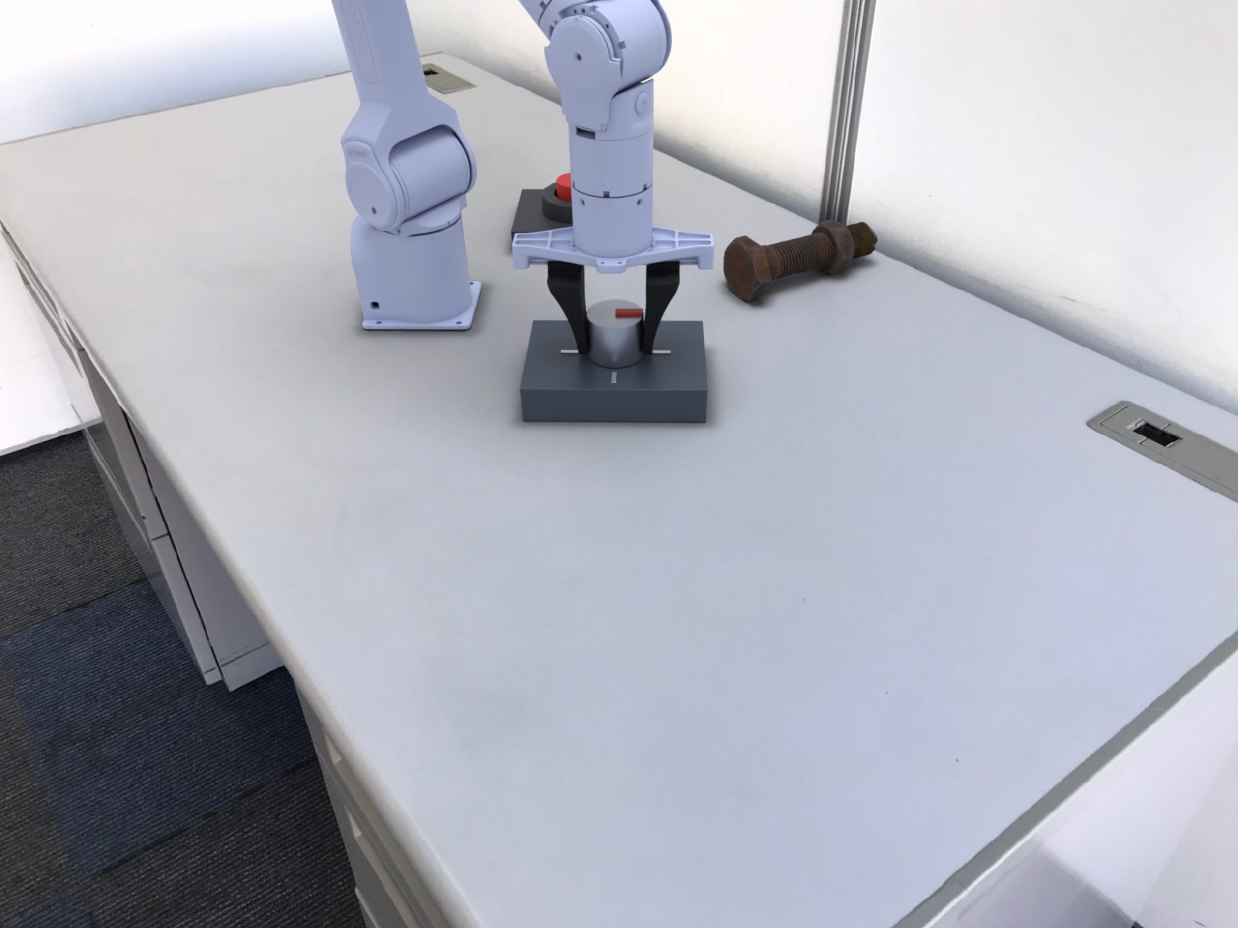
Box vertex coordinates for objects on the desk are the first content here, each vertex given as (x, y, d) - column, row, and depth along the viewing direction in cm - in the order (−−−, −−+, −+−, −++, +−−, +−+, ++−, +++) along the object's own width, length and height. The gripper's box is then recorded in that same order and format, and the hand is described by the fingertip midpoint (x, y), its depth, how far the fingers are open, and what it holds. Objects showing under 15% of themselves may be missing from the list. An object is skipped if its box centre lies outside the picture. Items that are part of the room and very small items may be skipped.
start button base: (512, 252, 98) (509, 214, 96) (523, 208, 106) (520, 172, 103) (634, 252, 98) (634, 214, 95) (636, 208, 105) (635, 172, 103)
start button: (555, 204, 98) (554, 187, 97) (558, 188, 101) (557, 172, 100) (592, 203, 98) (591, 187, 97) (593, 188, 101) (593, 172, 100)
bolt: (867, 276, 97) (739, 311, 91) (842, 235, 98) (715, 267, 92) (896, 240, 92) (763, 275, 86) (870, 197, 93) (737, 228, 87)
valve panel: (522, 421, 76) (519, 387, 74) (535, 350, 84) (532, 318, 82) (705, 422, 76) (707, 388, 74) (701, 351, 84) (702, 318, 82)
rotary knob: (586, 367, 76) (584, 325, 74) (589, 337, 80) (587, 295, 77) (643, 368, 76) (643, 325, 74) (644, 337, 80) (644, 295, 77)
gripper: (500, 205, 66) (516, 375, 75) (719, 205, 66) (710, 376, 74) (513, 164, 72) (526, 326, 80) (714, 163, 71) (706, 327, 80)
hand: (615, 347), depth 78 cm, fingers closed on rotary knob, 4 cm apart
